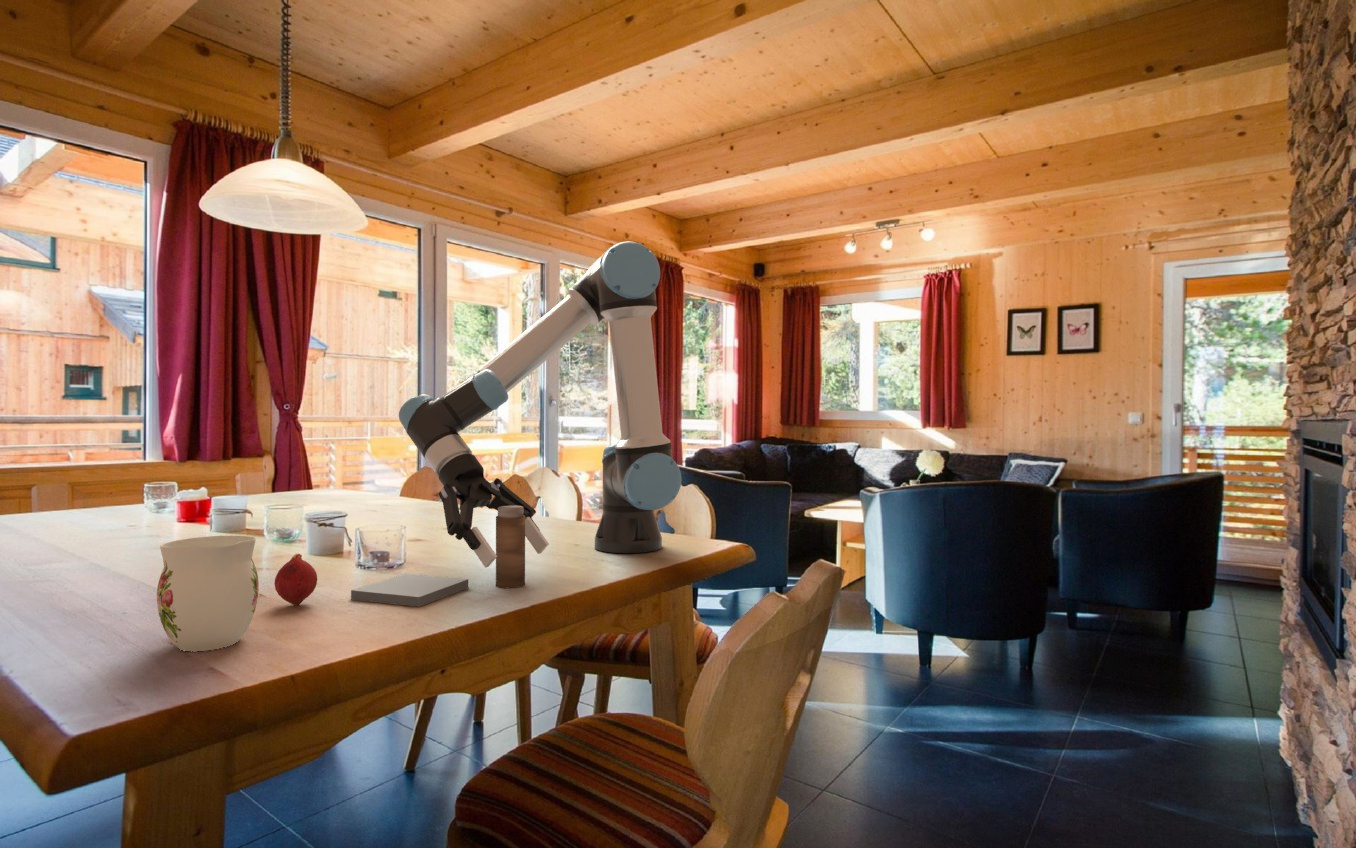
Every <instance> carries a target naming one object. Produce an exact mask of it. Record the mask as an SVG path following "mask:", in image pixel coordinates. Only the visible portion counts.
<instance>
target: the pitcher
mask: <svg viewBox="0 0 1356 848" xmlns="http://www.w3.org/2000/svg"><path fill="white" fill-rule="evenodd" d="M256 540H257V539H256V537H254V536H248V535H214V536H212V535H211V536H201V537H199V536H198V537H190V538H185V539H184V538H183V539H177V540H172V541H168V542H165V543H162V544H161V545H160V546H159V548H160V549H159V550H160V553H161V556H162V561H163V568H162V570H161V571H162V572H161V574H160V577H159V580H158V583H157V588H156V589H157V590H156V603H157V611H158V616H159V620H160V623H161V625H162V627H163V630H164V632H165V633H166V636H167V637H168V639H169V640H170V642H171V643H172V644H173V645H174V646H175V647H177V649H178V648H179V649H180V650H179V649H178V650H179V651H181V650H185V651H191V652H190V653H198V652H197V651H204V652H206V651H205V650H211V651H215V650H214V649H217V650H219V649H218V648H221V647H225V648H227V647H226V646H228V647H230V646H229V645H231V646H233V644H234V645H235V643H236V642H237V643H239V642H240V639H241V638H242V637H243V636H244V634H245V633H246V632H247V630H248V628H249V627H250V625H251V622H252V620H253V617H254V614H255V611H256V607H257V604H258V596H259V591H260V590H259V586H260V585H259V583H260V582H259V575H258V571H257V568H256V566H255V565H256V564H255V562H254V560H253V553H254V550H255V544H256ZM238 641H239V642H238ZM237 643H236V644H237ZM221 649H222V648H221ZM185 651H184V652H185ZM192 651H193V652H192ZM195 651H196V652H195Z"/></svg>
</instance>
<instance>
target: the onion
mask: <svg viewBox="0 0 1356 848" xmlns="http://www.w3.org/2000/svg"><path fill="white" fill-rule="evenodd" d="M302 556H303V555H302V554H301V553H295V554H293V556H292V557H291V559H289V561H286V563H284V564H283V565H282V567H280V569H279V570H278V571H277V573H276V576H275V578H274V582H273V583H274V589H275V591H276V593H277V595H278V596H279V597H280V598H282V600H284V601H285V602H286V603H289V604H291V605H293V606H299V605H300V604H302V603H303V602H304V601H305V600H306V599H307V598H308V597H309V596H310V595H312V594H313V592H314V591H315V589H316V587H317V584H318V574H317V572H316V571H317V570H315V568H314V567H313V566H312V565H311V563H309V562H307V561H306V560H303V559H302V558H303V557H302Z"/></svg>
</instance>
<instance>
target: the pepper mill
mask: <svg viewBox="0 0 1356 848" xmlns="http://www.w3.org/2000/svg"><path fill="white" fill-rule="evenodd" d="M495 554H496V555H497V557H496V559H495V587H497V588H500V589H514V588H515V589H516V588H520V587H521V588H522V587H524V586H525V585H526V536H525V515H523V506H501V507H498V511H497V515H496V516H495Z"/></svg>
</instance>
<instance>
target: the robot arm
mask: <svg viewBox="0 0 1356 848" xmlns="http://www.w3.org/2000/svg"><path fill="white" fill-rule="evenodd" d="M659 263H660V262H659V261H658V259H657V257H656V256H655V254H654V252H653V251H652V250H650V249H649V248H648V247H647V246H645V245H644V244H642V243H639V242H635V241H622V242H618V243H615V244H614V245H611V246H610V247H608V248H607V249H606V250H605V251H604V252H603V254H602V255H601V256H600V257H599V258H597V259H596V260H595V261H594V262H593V263H592V264H591V265H590V267H589V268H588V270H586V272H585V273H584V274H583V275H582V277H580V278H579V279H578V280H577V281H576V282H575V283H574V284H573V285H572V286H571V287H570V288H568V289H567V295H566V297H565V298H563V299H562V300H561V301H559V302H558V304H556V305H555V306H553V307H552V309H550V310H549V311H548V312H546V313H545V314H544V315H543V316H542V317H540V318H539V319H538V320H537V321H535V322H534V323H532V325H531V326H529V327H528V328H527V329H526V330H525V331H523V332H522V333H521V334H520V335H519V336H518V337H516V338H514V340H513V341H511V342H510V343H509V344H508V345H507V346H505V347H504V348H502V350H500V351H499V352H498V353H497V354H495V355H494V356H493V357H492V358H491V359H489V360H488V361H487V362H486V363H484V364H483V365H482V366H481V367H480V368H479V369H477V371H475V372H474V373H472V374H471V375H470V376H469V377H467V378H466V379H465V380H464V381H463V382H461V383H459V384H458V385H457V386H455V387H454V388H452V389H451V390H450V391H448V392H446V393H445V394H443V395H441V396H439V397H437V398H434V397H432V395H429V394H427V393H426V394H425V393H424V394H419V395H418V396H412V397H410V398H409V399H408V400H406V401H405V402H404V403H403V404H402V405H401V407H400V409H399V411H398V419H399V421H400V423H401V425H402V427H403V428H404V430H405V433H406V434H407V435H408V437H409V438H410V440H411V441H412V442H413V444H414V446H416V448H417V449H418V451H419V452H420V453H421V455H422V456H423V458H424V460H426V462H427V463H428V464H429V466H430V467H431V469H432V470H433V472H434V473H435V476H438V480H439V481H440V483H441V484H442V486H443V487H442V488H441V489H440V491H439V492H438V497H439V498H440V500H441V502H442V505H443V512H444V519H445V524H446V530H447V534H448V535H449V536H454V535H455V536H454V537H455V538H456V539H457V540H458V541H460V540H462V539H463V540H464V541H465V543H466V545H468V547H469V548H470V550H471V551H474V553H475V554H476V556H477V558H478V560H480V562H481V563H482V566H484V568H488V567H490V565H492V563H493V562H494V561H496V557H497V555H496V551H494V550H493V548H492V547H491V545H490V544H489V542H488V540H487V539H486V538H485V537H484V535H483V534H482V532H481V531H480V529H479V528H478V527H477V526H473V525H472V524H473V517H474V516H473V514H474V509H477V508H479V507H481V508H482V507H483V508H484V507H485V508H487V509H490V510H492V509H494V510H495V511H497V512H498V507H501V506H523V515H525V539H527V541H528V542H529V543H530V545H531V546H532V548H533V549H534V550H535V552H536V553H537V554H538V555H540V554H542V553H543V552H544V550H545V549H546V548H547V547H548V546H549V545H550V543H549V542H548V540H547V539H546V537H545V536H544V534H543V533H542V531H541V530H540V528H539V527H538V525H537V524H536V523H535V521H534V519H533V517H534V515H535V514H536V513H537V511H536V509H535V508H534V507H532V506H531V505H530V504H528V503H527V502H526V501H524V499H522V498H521V497H520V496H519V495H517V494H516V493H515V492H513V491H512V490H511V489H510V488H508V487H507V486H506V485H505V484H504V482H503V481H502V480H501V479H500V478H497V477H496V478H495V479H494V480H493V481H491V482H489V481H488V480H487V479H486V478H485V476H484V475H485V474H484V473H485V472H484V471H485V470H484V467H483V466H482V464H481V462H480V461H479V460H478V459H477V457H476V455H474V453H473V451H472V450H471V448H470V447H469V445H468V444H467V443H466V442H465V441H464V439H463V438H462V436H461V435H460V432H462V431H463V430H464V429H466V428H468V427H469V426H471V425H473V424H474V423H475V422H477V421H479V420H481V419H482V418H484V417H485V416H487V415H489V414H490V413H491V412H493V411H496V410H498V409H499V408H500V407H501V406H502V405H504V404H505V403H506V402H507V401H508V400H509V394H508V393H509V392H510V391H511V390H513V389H514V388H515V387H516V386H517V385H519V383H521V382H522V381H523V380H524V379H526V378H527V377H528V376H529V375H530V374H532V373H533V372H534V371H535V370H536V369H538V368H539V367H540V366H541V365H543V364H544V363H545V362H546V361H547V360H549V359H550V357H552V356H553V355H555V354H556V352H558V351H559V350H561V348H563V347H564V346H565V345H566V344H567V343H569V342H570V341H571V340H573V338H575V337H576V336H578V334H579V333H581V332H582V331H583V330H584V329H585V328H587V327H588V326H589V325H598V324H599V323H600V322H602V320H603V319H606V320H607V322H608V325H609V326H608V327H609V336H610V345H611V353H612V363H613V373H614V380H615V381H614V382H615V389H616V391H615V392H616V400H617V410H618V419H619V428H620V439H619V440H618V442H617V443H616V444H612V445H608V446H606V447H605V448H604V449H603V451H602V453H603V454H602V459H601V463H602V515H601V517H600V521H599V523H598V527H597V530H596V532H595V536H594V549H595V550H597V551H601V552H604V553H605V552H606V553H613V554H638V553H649V552H654V551H658V550H661V549H662V548H663V538H662V537H663V536H662V534H661V531H660V528H659V525H658V521H657V518H656V515H655V514H656V513H655V510H661V509H663V508H666V507H667V506H668V505H670V504H671V503H672V502H673V501H674V500H675V498H676V497H677V496H678V494H679V492H680V491H681V486H682V472H681V470H680V467H679V465H678V464H677V462H676V461H675V460H674V459H673V458H674V457H673V450H672V442H671V439H669V438H668V437H667V436H666V435H665V434H664V433H663V425H662V416H661V406H660V405H661V404H660V397H659V395H660V394H659V386H658V376H657V367H656V365H657V364H656V358H655V348H654V339H653V330H652V329H653V328H652V319H651V318H652V316H653V315H654V314H655V312H656V311H657V309H658V305H657V296H656V289H657V287H658V286H659V282H660V279H661V268H660V267H661V266H660V264H659ZM493 496H494V497H493ZM458 501H459V502H458ZM472 526H473V527H472Z"/></svg>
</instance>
